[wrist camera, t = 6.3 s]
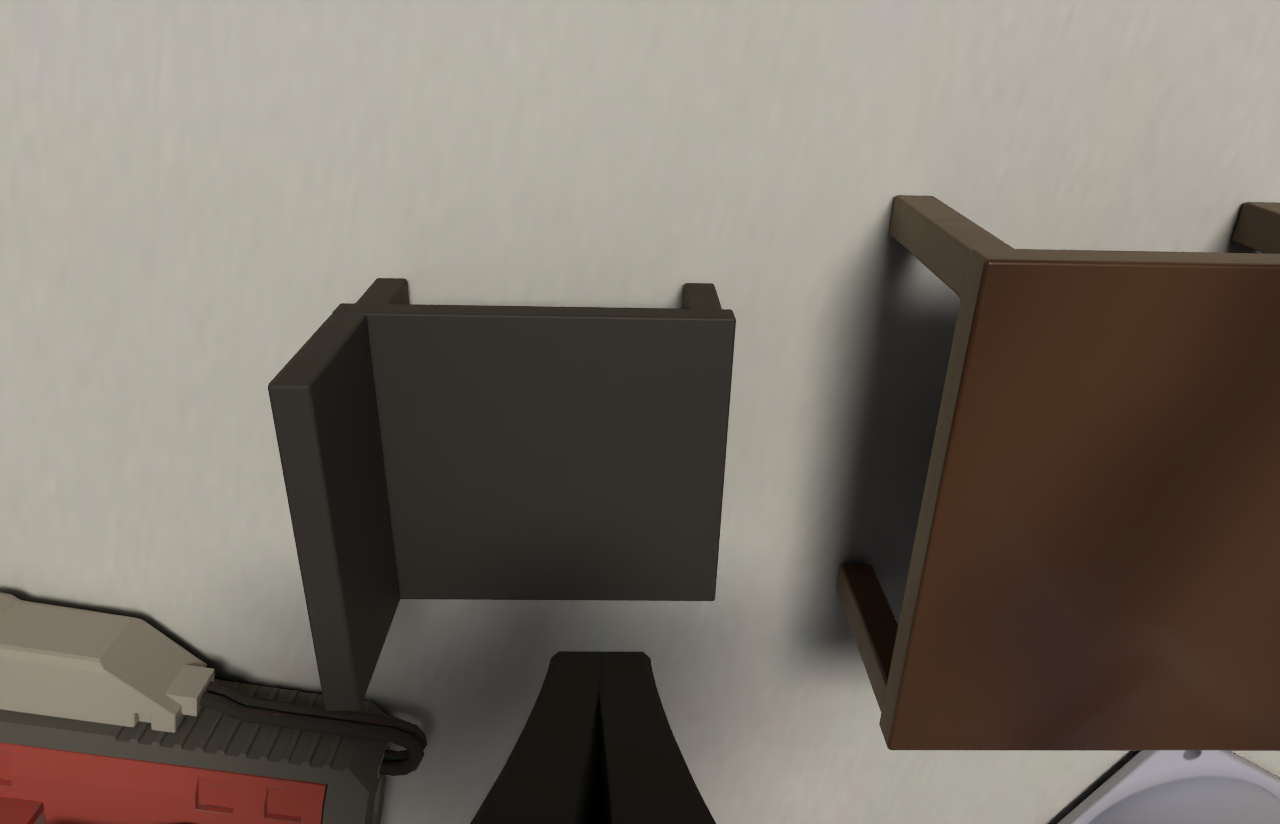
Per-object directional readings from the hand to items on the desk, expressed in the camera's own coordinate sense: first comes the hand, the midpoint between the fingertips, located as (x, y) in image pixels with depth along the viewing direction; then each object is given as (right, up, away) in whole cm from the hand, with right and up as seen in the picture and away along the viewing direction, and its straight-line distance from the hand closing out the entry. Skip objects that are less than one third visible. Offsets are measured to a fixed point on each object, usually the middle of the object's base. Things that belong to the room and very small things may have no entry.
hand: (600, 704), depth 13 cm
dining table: (+11, +4, +9) cm, 15 cm away
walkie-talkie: (-16, -4, +13) cm, 21 cm away
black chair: (-2, +4, +9) cm, 10 cm away
